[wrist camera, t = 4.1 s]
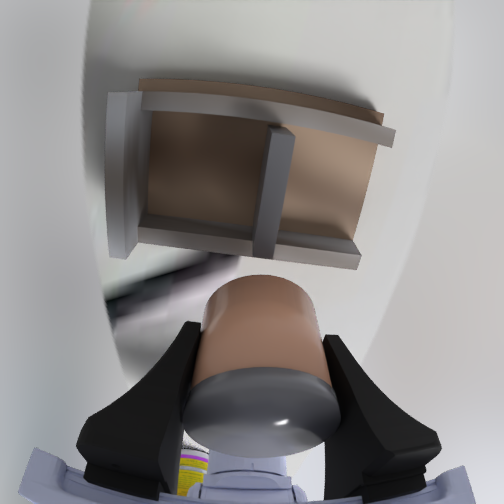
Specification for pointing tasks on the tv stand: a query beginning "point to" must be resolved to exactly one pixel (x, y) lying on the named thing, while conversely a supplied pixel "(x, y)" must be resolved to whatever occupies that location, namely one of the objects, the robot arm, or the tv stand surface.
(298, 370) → the jar
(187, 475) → the supplement bottle
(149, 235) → the tray
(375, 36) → the tv stand surface
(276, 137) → the pusher plate
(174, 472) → the robot arm
